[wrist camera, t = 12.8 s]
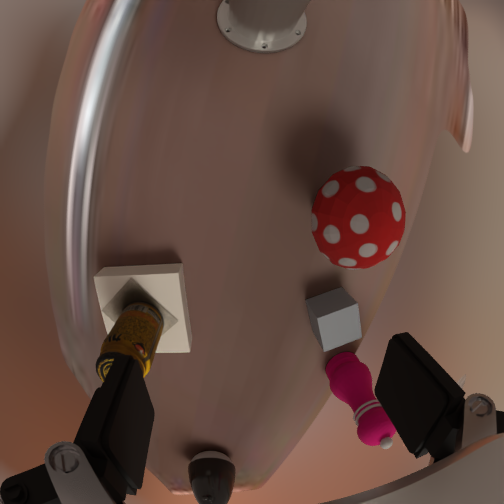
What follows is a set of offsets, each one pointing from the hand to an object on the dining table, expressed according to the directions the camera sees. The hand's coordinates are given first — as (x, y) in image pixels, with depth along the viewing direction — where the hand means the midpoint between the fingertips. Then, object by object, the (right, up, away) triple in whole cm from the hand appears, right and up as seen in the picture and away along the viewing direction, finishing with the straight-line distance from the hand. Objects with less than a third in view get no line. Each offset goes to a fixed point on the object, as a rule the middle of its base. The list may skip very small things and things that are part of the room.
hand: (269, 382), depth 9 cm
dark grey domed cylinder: (-10, -41, +42) cm, 59 cm away
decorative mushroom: (+10, +11, +29) cm, 33 cm away
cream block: (-16, -3, +30) cm, 34 cm away
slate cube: (+11, -4, +33) cm, 36 cm away
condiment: (-16, -4, +26) cm, 31 cm away
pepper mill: (+15, -16, +37) cm, 43 cm away
